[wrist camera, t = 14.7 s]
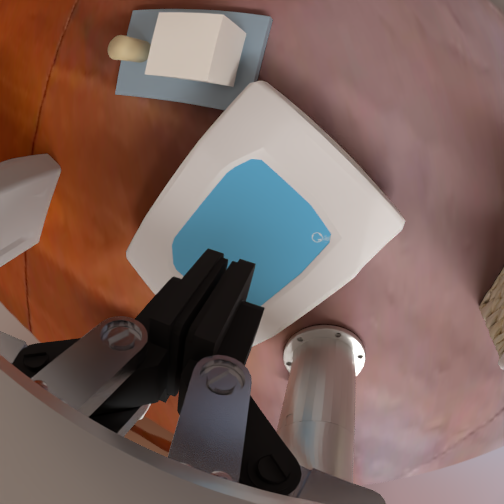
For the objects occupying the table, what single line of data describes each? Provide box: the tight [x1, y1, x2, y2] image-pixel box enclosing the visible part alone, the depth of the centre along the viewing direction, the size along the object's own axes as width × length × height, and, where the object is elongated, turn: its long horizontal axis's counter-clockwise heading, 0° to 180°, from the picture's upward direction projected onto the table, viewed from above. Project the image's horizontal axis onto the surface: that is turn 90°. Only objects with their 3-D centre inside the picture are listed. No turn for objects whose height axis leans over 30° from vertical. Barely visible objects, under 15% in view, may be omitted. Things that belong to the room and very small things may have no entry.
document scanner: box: [126, 81, 405, 347], centre depth 36 cm, size 21×28×6 cm
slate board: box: [108, 9, 273, 110], centre depth 29 cm, size 12×18×6 cm, turn 77°
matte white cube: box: [145, 12, 247, 87], centre depth 25 cm, size 6×6×8 cm
